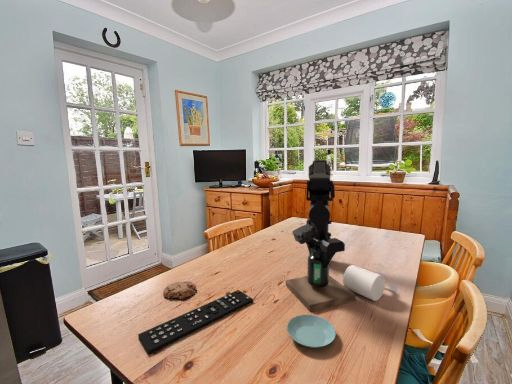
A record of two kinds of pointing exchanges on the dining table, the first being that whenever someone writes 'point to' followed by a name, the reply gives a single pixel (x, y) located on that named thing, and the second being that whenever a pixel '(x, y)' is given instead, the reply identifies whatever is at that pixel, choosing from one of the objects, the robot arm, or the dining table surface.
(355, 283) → the mug
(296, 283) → the walnut board
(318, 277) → the supplement bottle
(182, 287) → the cookie
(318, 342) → the saucer
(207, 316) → the remote control
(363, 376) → the dining table surface
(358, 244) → the dining table surface
